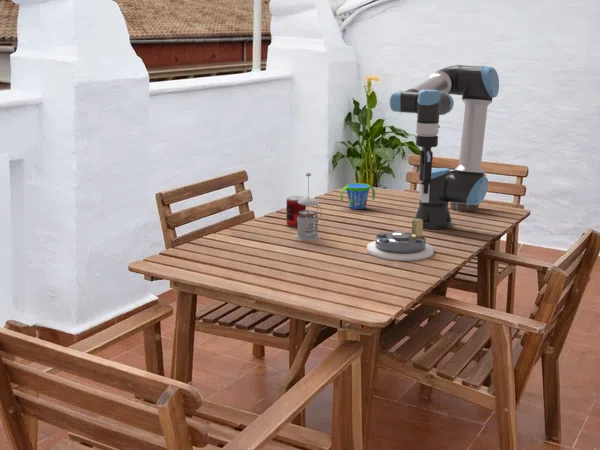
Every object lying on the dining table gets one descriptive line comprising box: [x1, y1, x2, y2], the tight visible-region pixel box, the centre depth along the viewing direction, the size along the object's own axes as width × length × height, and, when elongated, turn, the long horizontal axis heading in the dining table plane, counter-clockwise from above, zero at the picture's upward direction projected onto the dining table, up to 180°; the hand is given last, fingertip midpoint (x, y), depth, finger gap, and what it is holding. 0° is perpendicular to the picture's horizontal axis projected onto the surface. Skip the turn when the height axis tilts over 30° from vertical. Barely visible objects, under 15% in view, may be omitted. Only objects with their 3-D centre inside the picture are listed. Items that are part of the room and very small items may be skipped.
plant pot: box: [450, 170, 487, 212], centre depth 373 cm, size 16×16×16 cm
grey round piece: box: [375, 218, 427, 254], centre depth 304 cm, size 18×18×9 cm
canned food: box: [286, 195, 307, 227], centre depth 342 cm, size 8×8×11 cm
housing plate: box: [366, 240, 435, 262], centre depth 306 cm, size 24×24×2 cm
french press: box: [294, 172, 322, 241], centre depth 322 cm, size 10×12×25 cm
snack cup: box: [339, 182, 376, 210], centre depth 373 cm, size 16×10×10 cm
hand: (423, 200), depth 298 cm, fingers open, 4 cm apart
